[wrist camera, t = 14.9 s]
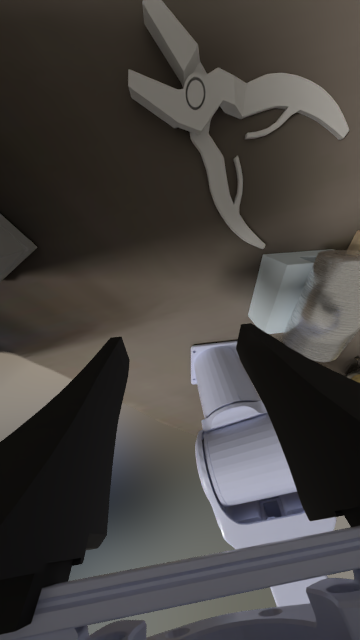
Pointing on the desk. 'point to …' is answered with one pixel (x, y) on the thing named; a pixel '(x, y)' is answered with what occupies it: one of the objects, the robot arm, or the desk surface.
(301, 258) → the v block
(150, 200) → the desk surface
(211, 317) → the desk surface
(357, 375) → the alarm clock
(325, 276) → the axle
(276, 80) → the pliers
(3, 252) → the tall grey box
